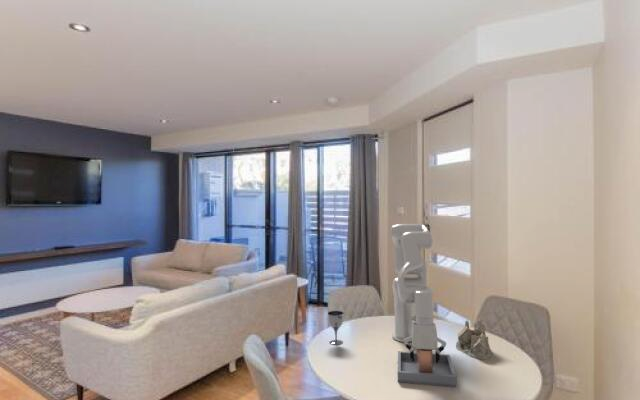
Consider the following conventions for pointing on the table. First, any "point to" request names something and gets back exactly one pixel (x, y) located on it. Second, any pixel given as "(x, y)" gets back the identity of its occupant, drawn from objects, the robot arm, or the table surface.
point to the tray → (439, 376)
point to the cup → (424, 360)
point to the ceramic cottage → (474, 341)
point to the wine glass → (335, 324)
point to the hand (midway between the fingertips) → (424, 361)
